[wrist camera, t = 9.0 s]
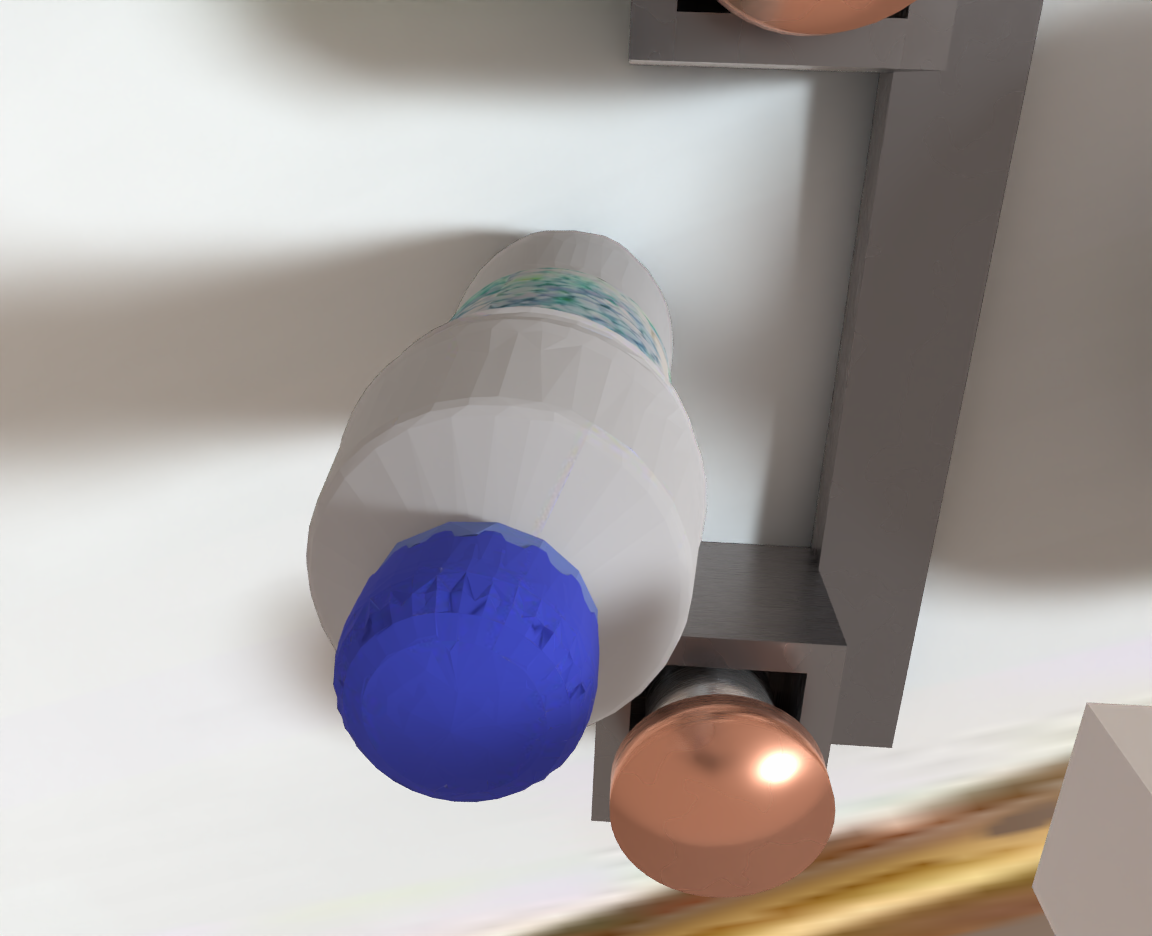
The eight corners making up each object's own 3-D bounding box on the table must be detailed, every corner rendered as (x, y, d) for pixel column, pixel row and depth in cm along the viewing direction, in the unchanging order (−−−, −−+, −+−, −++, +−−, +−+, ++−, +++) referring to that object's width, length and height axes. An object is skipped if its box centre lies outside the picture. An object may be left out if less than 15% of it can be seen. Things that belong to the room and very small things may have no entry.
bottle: (507, 445, 31) (318, 979, 13) (432, 252, 29) (67, 560, 10) (701, 387, 30) (807, 882, 11) (640, 181, 28) (648, 386, 9)
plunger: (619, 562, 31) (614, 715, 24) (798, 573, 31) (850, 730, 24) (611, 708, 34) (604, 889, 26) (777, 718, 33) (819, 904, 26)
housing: (645, -236, 24) (647, -333, 18) (1066, -227, 23) (1201, -325, 18) (598, 703, 35) (591, 820, 29) (881, 721, 34) (928, 843, 29)
